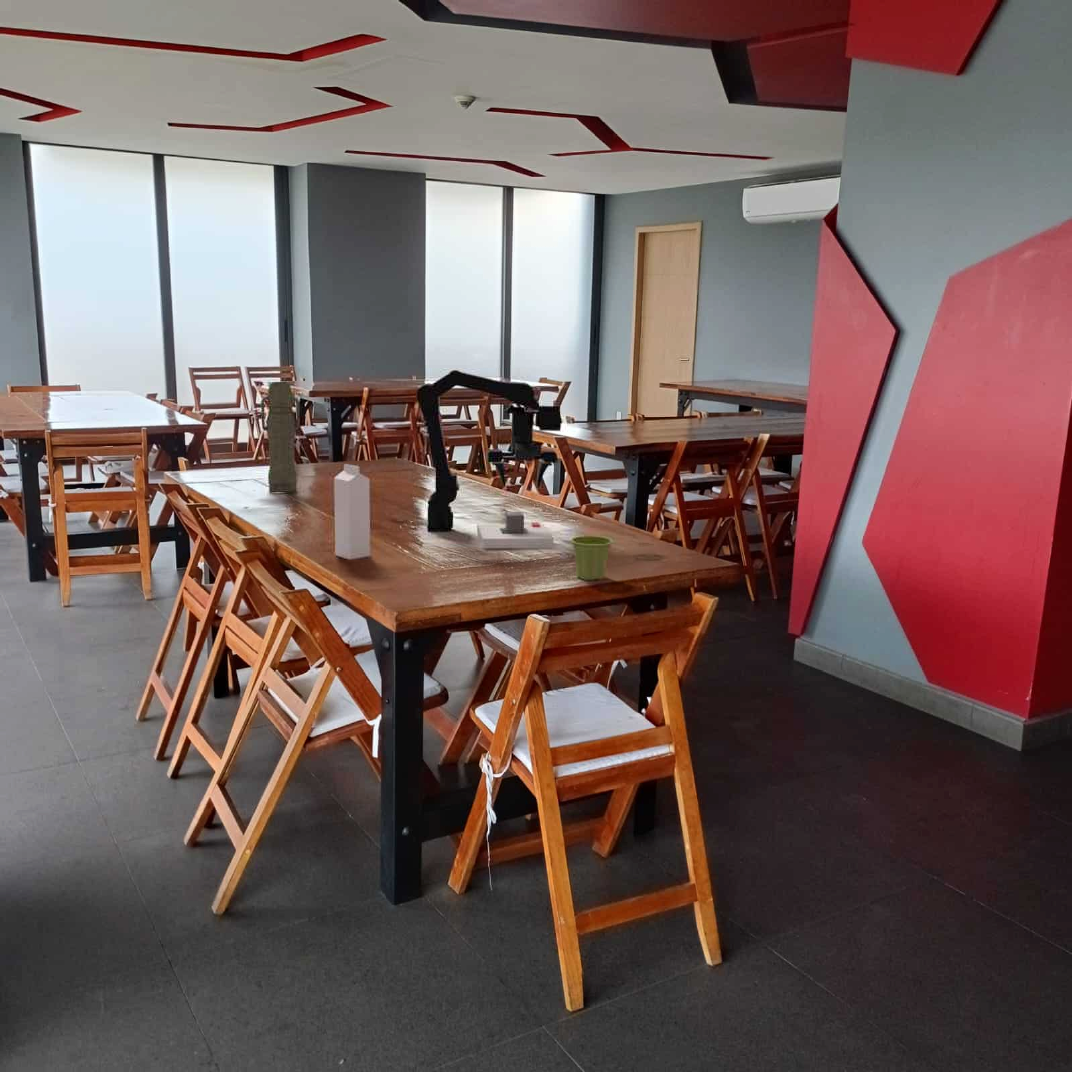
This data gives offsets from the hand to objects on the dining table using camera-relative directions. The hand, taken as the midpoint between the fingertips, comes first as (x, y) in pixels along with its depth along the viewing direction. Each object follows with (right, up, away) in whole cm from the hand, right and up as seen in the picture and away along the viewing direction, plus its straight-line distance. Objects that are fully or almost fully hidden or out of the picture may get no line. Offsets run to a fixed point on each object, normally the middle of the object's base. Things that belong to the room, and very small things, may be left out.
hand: (520, 487), depth 269 cm
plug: (-2, -14, -9) cm, 17 cm away
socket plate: (-2, -14, -9) cm, 17 cm away
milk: (-40, -18, -31) cm, 54 cm away
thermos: (-78, +1, +53) cm, 94 cm away
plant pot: (+16, -23, -44) cm, 52 cm away
